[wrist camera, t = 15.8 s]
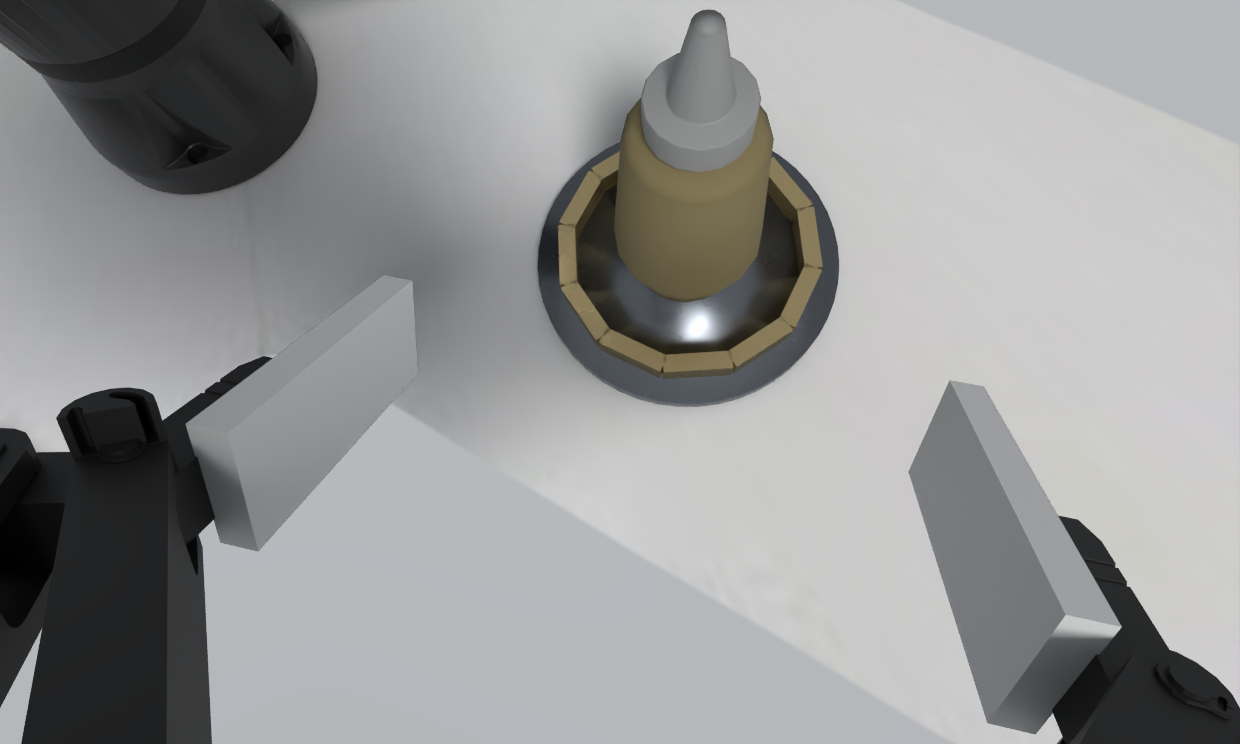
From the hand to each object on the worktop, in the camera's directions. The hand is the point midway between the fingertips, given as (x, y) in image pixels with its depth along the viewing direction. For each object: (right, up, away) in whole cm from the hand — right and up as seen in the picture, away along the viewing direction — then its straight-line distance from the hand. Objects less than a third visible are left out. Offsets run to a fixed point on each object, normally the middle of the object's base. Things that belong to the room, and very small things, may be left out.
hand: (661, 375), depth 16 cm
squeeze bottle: (+3, +7, +23) cm, 24 cm away
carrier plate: (+3, +7, +24) cm, 25 cm away
